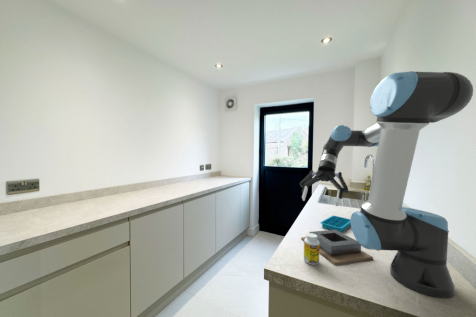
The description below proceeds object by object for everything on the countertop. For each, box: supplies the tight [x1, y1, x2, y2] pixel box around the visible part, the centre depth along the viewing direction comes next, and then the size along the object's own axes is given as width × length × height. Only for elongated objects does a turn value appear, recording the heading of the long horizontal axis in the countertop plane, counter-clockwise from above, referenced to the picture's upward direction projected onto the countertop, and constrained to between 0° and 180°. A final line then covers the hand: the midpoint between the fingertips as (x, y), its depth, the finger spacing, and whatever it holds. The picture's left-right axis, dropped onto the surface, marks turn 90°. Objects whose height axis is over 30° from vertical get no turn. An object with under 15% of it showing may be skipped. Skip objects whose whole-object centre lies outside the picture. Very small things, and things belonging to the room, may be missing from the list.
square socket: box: [309, 229, 362, 256], centre depth 84 cm, size 14×14×4 cm
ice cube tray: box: [320, 215, 351, 233], centre depth 112 cm, size 12×20×3 cm, turn 133°
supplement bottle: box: [303, 233, 320, 266], centre depth 73 cm, size 6×6×10 cm
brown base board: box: [300, 236, 374, 266], centre depth 84 cm, size 22×18×1 cm
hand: (319, 201), depth 82 cm, fingers open, 13 cm apart
